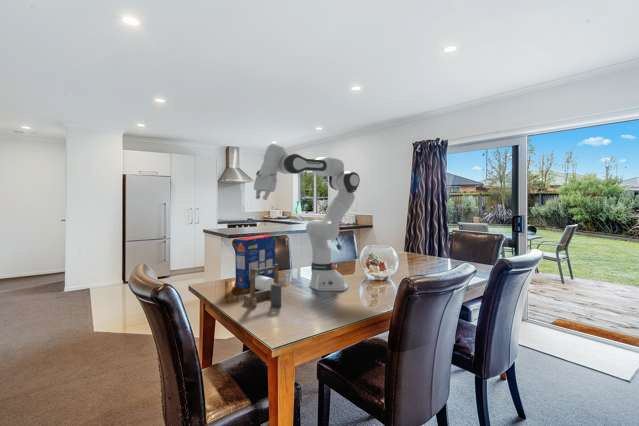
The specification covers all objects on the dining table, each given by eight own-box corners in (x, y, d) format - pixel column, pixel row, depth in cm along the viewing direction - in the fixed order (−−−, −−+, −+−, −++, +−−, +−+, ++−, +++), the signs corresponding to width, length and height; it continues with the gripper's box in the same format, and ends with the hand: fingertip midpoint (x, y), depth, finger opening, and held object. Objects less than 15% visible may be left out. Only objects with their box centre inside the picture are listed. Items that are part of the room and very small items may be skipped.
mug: (264, 294, 171) (264, 279, 171) (252, 290, 178) (252, 276, 177) (280, 289, 180) (280, 275, 180) (269, 286, 187) (269, 272, 186)
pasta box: (265, 277, 209) (265, 234, 207) (275, 278, 205) (275, 235, 204) (235, 287, 184) (235, 239, 182) (246, 289, 180) (246, 240, 179)
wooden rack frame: (279, 299, 161) (279, 264, 161) (253, 307, 150) (253, 269, 149) (269, 296, 167) (269, 262, 166) (244, 303, 156) (243, 266, 155)
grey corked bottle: (282, 304, 154) (282, 282, 154) (279, 308, 149) (279, 285, 149) (272, 304, 155) (272, 282, 154) (269, 307, 150) (269, 284, 150)
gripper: (282, 175, 159) (274, 202, 158) (265, 176, 176) (258, 200, 175) (271, 171, 156) (263, 198, 155) (255, 172, 173) (248, 196, 172)
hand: (260, 199), depth 165 cm, fingers open, 8 cm apart
